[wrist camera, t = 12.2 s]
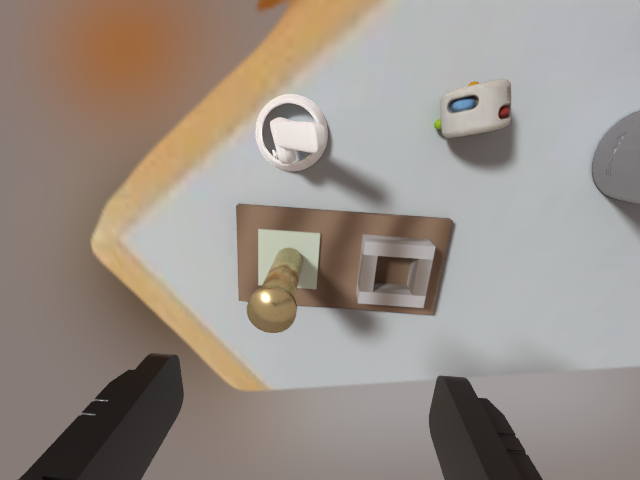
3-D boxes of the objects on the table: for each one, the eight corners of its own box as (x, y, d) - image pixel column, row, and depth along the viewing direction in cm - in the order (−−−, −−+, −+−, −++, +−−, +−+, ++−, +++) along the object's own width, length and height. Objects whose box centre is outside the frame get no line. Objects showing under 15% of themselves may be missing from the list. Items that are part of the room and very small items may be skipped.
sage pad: (320, 233, 34) (320, 233, 33) (316, 288, 36) (316, 289, 36) (258, 228, 34) (258, 229, 33) (258, 284, 36) (258, 285, 36)
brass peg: (307, 245, 34) (296, 291, 23) (305, 277, 35) (295, 334, 25) (272, 243, 34) (246, 288, 24) (271, 275, 35) (247, 331, 25)
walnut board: (449, 218, 34) (462, 227, 30) (430, 310, 38) (439, 326, 34) (238, 203, 34) (229, 210, 31) (241, 296, 38) (232, 311, 34)
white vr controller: (385, 167, 27) (325, 198, 24) (312, 156, 36) (262, 178, 34) (372, 76, 23) (301, 100, 21) (295, 89, 33) (238, 107, 30)
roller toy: (428, 93, 30) (451, 83, 24) (493, 80, 29) (532, 66, 24) (431, 139, 31) (453, 139, 26) (494, 127, 31) (530, 124, 25)
